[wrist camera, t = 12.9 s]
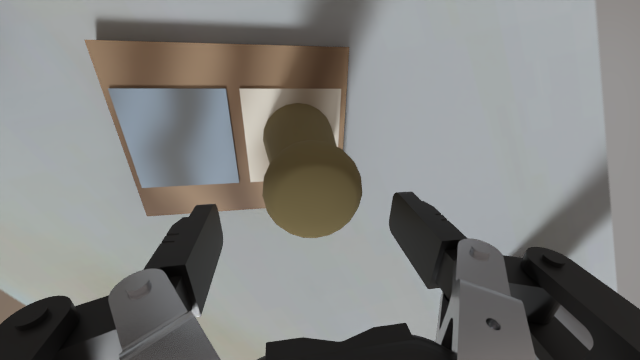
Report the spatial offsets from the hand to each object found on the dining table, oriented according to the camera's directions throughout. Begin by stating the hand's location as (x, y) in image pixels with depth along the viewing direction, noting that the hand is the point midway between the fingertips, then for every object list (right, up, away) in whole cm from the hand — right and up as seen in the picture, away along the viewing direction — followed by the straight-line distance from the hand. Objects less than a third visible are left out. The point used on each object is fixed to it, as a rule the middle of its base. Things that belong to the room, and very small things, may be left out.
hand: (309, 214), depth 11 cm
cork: (-1, +5, +10) cm, 12 cm away
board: (-6, +6, +10) cm, 13 cm away
